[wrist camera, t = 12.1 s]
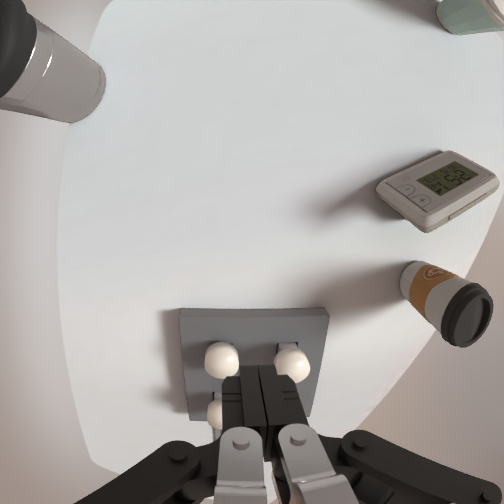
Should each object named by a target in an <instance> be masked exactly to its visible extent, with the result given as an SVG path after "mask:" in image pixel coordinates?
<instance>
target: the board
mask: <svg viewBox="0 0 504 504" xmlns="http://www.w3.org/2000/svg"><path fill="white" fill-rule="evenodd" d="M329 317H330V315H329V314H328V312H327V311H326V309H325V308H291V309H198V308H181V311H180V314H179V325H180V338H181V349H182V360H183V370H184V379H185V388H186V396H187V404H188V412H189V419H190V421H207V414H208V405H209V404H210V403H211V402H212V401H214V395H213V392H222V383H223V381H224V380H225V378H224V379H220V378H215V377H213V376H211V375H210V374H208V373H207V371H206V369H205V353H206V350H207V348H208V347H209V346H210V345H211V343H217V342H226V343H232V345H233V346H234V347H235V348H236V350H237V352H238V361H239V364H256V365H257V364H274V358H275V356H276V355H277V350H276V348H277V343H284V342H295V343H296V345H297V348H299V349H301V350H302V351H303V352H304V353H305V355H306V357H307V360H308V362H309V365H310V372H309V374H308V376H307V377H306V378H305V379H304V380H302V381H301V382H298V383H295V384H296V388H297V392H298V394H299V397H300V400H301V403H302V406H303V409H304V412H305V415H306V417H310V413H311V409H312V404H313V400H314V396H315V391H316V386H317V382H318V377H319V372H320V367H321V362H322V357H323V352H324V346H325V341H326V335H327V329H328V323H329ZM238 369H239V368H238ZM233 376H238V371H237V372H236V373H235V374H234V375H233Z"/></svg>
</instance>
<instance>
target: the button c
mask: <svg viewBox="0 0 504 504" xmlns="http://www.w3.org/2000/svg"><path fill="white" fill-rule="evenodd" d="M274 364H275V366H276V370H277V374H278V375H286V374H287V375H288V376H289V377H290V378H291V379H292V380H293V381H294V382H295V383H298V382H301V381H302V380H304V379H305V378H306V377H307V376H308V374H309V372H310V365H309V362H308V360H307V357H306V355H305V353H304V352H303V351H302V350H301V349H299V348H297V345H296V343H295V342H284V343H278V348H277V355H276V356H275V358H274Z"/></svg>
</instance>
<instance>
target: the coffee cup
mask: <svg viewBox="0 0 504 504" xmlns="http://www.w3.org/2000/svg"><path fill="white" fill-rule="evenodd" d="M400 290H401V293H402V295H403V296H404V297H405V298H406V299H407V300H408V301H409V302H410V303H411V305H412V306H413V307H414V308H415V309H416V310H417V311H418V312H419V313H420V314H421V315H422V316H423V317H424V318H425V319H426V320H427V321H428V322H429V323H430V324H432V325H433V326H434V327H435V328H436V329H437V330H438V331H439V332H440V333H441V335H442V338H443V339H444V340H445V341H447V342H449V343H450V344H451V345H453V346H459V347H461V348H462V347H468V346H470V345H472V344H473V343H475V342H476V341H477V340H478V339H479V338H480V337H481V336H482V334H483V333H484V332H485V330H486V328H487V327H488V325H489V322H490V320H491V317H492V313H493V300H492V298H491V297H490V296H489V294H488V292H487V291H486V290H485V289H484V288H483V287H482V286H481V285H479V284H478V283H472V282H470V281H467V280H465V279H463V278H461V277H459V276H458V275H455V274H453V273H451V272H449V271H446V270H444V269H442V268H439V267H437V266H434V265H431V264H429V263H426V262H423V261H417V262H413V263H411V264H410V265H408V266H407V267H406V268H405V270H404V271H403V273H402V275H401V278H400Z"/></svg>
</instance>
